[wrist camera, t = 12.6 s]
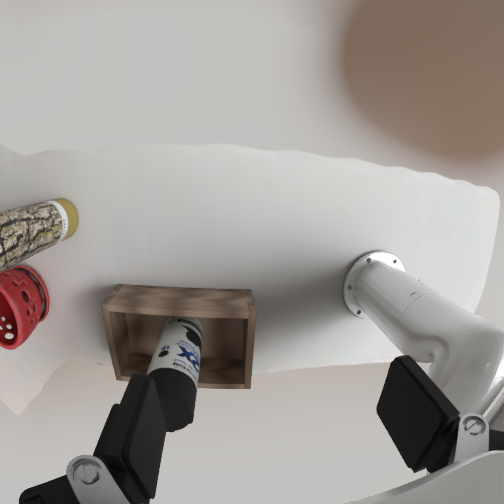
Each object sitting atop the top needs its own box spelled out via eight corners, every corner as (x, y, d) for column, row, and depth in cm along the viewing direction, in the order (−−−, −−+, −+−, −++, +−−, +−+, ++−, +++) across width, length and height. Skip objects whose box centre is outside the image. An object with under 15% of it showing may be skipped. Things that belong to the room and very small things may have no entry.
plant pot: (45, 256, 42) (6, 278, 30) (62, 322, 45) (31, 355, 34) (1, 259, 41) (-36, 279, 29) (18, 319, 44) (-13, 347, 33)
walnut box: (251, 289, 47) (256, 312, 39) (246, 360, 50) (250, 388, 42) (119, 284, 44) (101, 304, 37) (128, 353, 48) (116, 379, 40)
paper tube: (83, 202, 40) (-27, 235, 16) (77, 242, 42) (-23, 301, 18) (52, 194, 39) (-58, 220, 15) (47, 232, 41) (-55, 280, 17)
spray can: (212, 331, 47) (207, 420, 28) (183, 351, 47) (166, 439, 28) (185, 302, 45) (162, 386, 26) (156, 324, 46) (123, 408, 27)
